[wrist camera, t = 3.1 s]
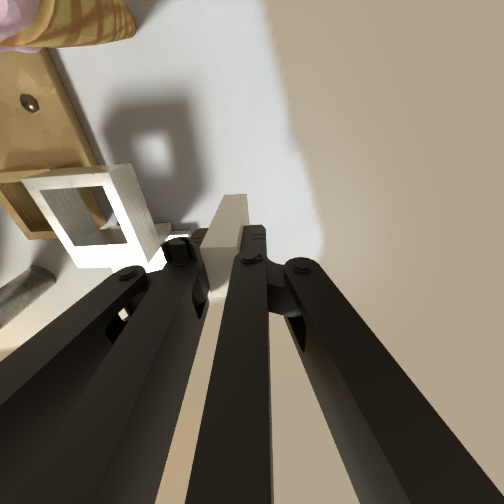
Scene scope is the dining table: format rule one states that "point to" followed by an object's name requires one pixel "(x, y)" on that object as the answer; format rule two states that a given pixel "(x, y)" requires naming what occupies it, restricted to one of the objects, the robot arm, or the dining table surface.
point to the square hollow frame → (83, 227)
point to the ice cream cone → (62, 23)
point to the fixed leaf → (37, 137)
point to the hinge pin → (23, 292)
